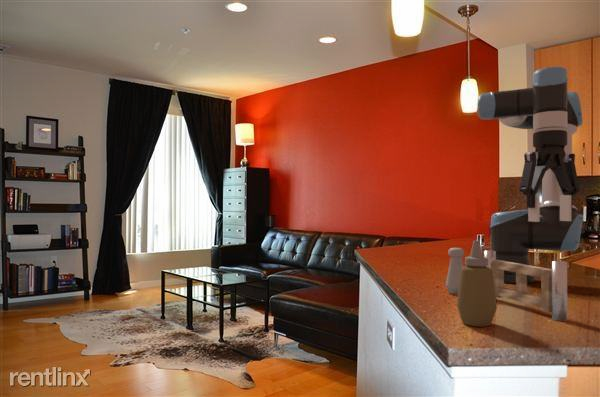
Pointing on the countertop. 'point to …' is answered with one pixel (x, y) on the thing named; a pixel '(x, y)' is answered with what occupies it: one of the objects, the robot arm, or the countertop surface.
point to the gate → (523, 283)
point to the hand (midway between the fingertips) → (549, 221)
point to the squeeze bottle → (476, 290)
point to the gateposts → (557, 286)
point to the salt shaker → (454, 270)
